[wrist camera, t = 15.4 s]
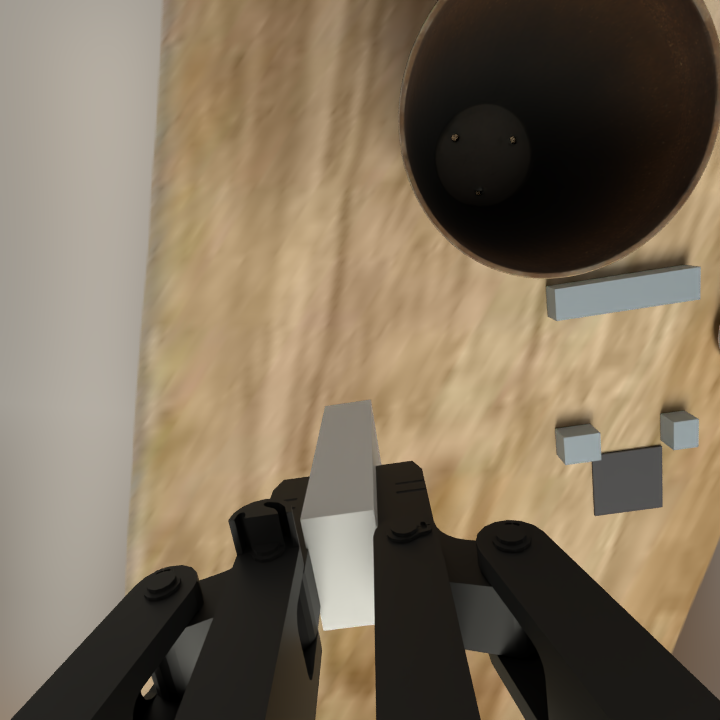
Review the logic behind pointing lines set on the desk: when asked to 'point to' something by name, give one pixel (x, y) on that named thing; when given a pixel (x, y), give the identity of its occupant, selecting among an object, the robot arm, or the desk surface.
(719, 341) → the can
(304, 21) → the desk surface
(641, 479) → the trap square
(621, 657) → the robot arm
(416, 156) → the dark brown curved piece
